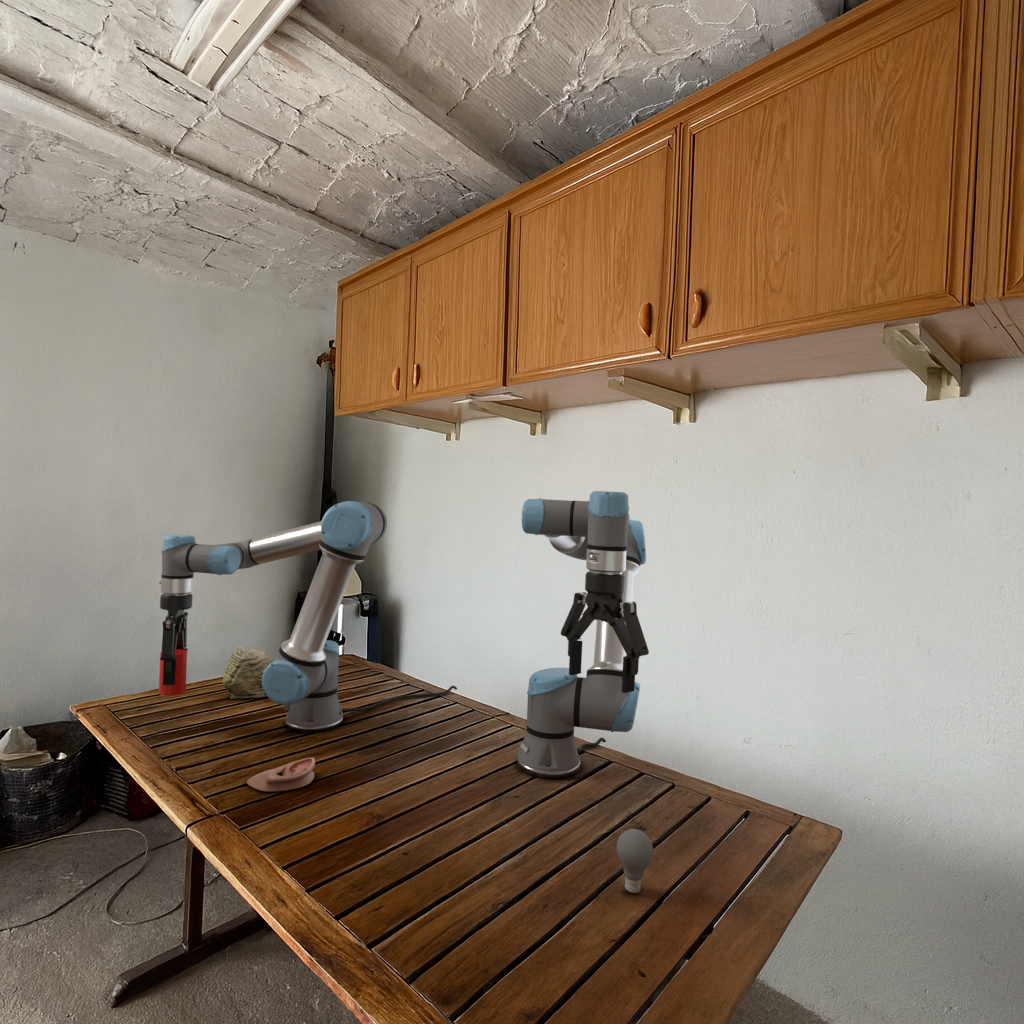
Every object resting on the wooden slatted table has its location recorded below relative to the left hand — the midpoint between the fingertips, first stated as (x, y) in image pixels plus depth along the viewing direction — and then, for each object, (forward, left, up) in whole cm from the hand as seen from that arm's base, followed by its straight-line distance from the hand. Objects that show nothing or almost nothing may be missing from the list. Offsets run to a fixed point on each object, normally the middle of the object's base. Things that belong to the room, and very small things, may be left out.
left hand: (173, 680), depth 167 cm
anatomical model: (-3, +48, -13) cm, 50 cm away
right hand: (-31, +111, +17) cm, 117 cm away
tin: (0, 0, -3) cm, 3 cm away
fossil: (-30, -12, -13) cm, 34 cm away
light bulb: (-21, +125, -13) cm, 127 cm away
